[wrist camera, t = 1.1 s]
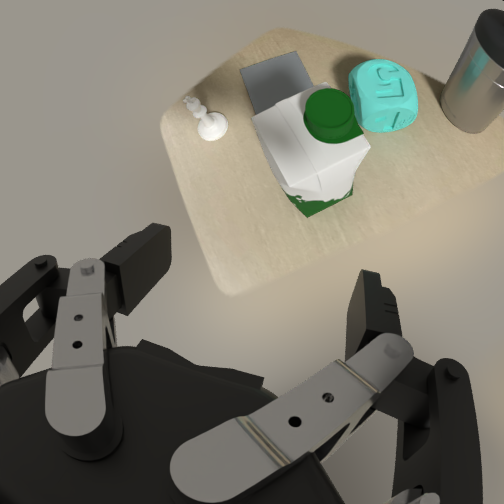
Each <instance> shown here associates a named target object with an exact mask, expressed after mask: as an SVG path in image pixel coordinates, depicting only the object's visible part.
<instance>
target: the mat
mask: <svg viewBox="0 0 504 504" xmlns="http://www.w3.org/2000/svg"><path fill="white" fill-rule="evenodd" d="M240 72H241V75H242V77H243V80H244V83H245V86H246V88H247V91H248V94H249V96H250V99H251V102H252V105H253V107H254V110H255V113H256V115H257V114H259V113H261V112H263V111H265V110H267V109H269V108H271V107H273V106H275V104H276V103H278V102H280V101H282V100H284V99H287V98H289V97H292V96H294V95H296V94H298V93H300V92H303V91H305V90H307V89H309V88H312V87H314V86H313V84H312V82H311V79H310V77H309V75H308V73H307V71H306V69H305V68H304V66H303V64H302V62H301V60H300V58H299V56H298V54H297V52H296V51H295V52H291V53H288V54H285V55H281V56H278V57H275V58H272V59H269V60H266V61H263V62H260V63H257V64H254V65H251V66H249V67H246V68H243V69H240Z"/></svg>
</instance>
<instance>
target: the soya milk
mask: <svg viewBox="0 0 504 504" xmlns="http://www.w3.org/2000/svg"><path fill="white" fill-rule="evenodd" d="M354 113H355V111H354V105H353V102H352V100H351V99H350V98H349V97H348V96H347V95H346V94H345V93H344V92H342V91H340V90H337V89H332V88H331V87H330V86H329V84H328V83H327V82H323V83H321V84H319V85H316V86H314V87H312V88H309V89H307V90H305V91H303V92H300V93H298V94H296V95H294V96H292V97H289V98H287V99H284V100H282V101H280V102H278V103H276V104H275V106H273V107H271V108H269V109H267V110H265V111H263V112H261V113H259V114H257V115H255V116H254V117H252V118H251V119H252V122H253V124H254V127H255V130H256V132H257V135H258V138H259V141H260V143H261V146H262V149H263V151H264V154H265V157H266V159H267V161H268V163H269V165H270V168H271V170H272V172H273V174H274V176H275V177H276V179H277V181H278V182H279V184H280V186H281V187H282V189H283V191H284V192H285V194H286V195H287V197H288V198H289V200H290V201H291V202H292V203H293V204H294V205H295V206H296V207H297V208H298V209H299V210H300V211H301V212H302V213H303V214H304V215H305V216H306V217H307V218H308V217H310V216H311V215H313V214H316V213H318V212H320V211H322V210H324V209H326V208H328V207H330V206H332V205H334V204H336V203H338V202H339V201H341V200H343V199H345V198H347V197H349V196H351V195H352V193H353V180H354V176H355V172H356V169H357V168H358V166H359V164H360V163H361V161H362V160H363V158H364V157H365V155H366V154H367V152H368V151H369V149H370V148H371V146H370V144H369V143H368V141H367V140H366V138H365V137H364V135H363V134H364V133H363V131H362V129H361V128H360V127H359V125H358V123H357V119H356V117H355V115H354Z"/></svg>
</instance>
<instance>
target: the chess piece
mask: <svg viewBox="0 0 504 504" xmlns="http://www.w3.org/2000/svg"><path fill="white" fill-rule="evenodd" d="M183 102H184V103H187V105H186V107H187V109H188V110H190V111H193V116H194V117H195V118H201V120H200V122H199V124H198V132H199V134H200V136H201V137H202V138H203V139H204V140H207V141H214V140H217V139H219V138H221V137H222V136H223V135H224V134H225V132H226V131H227V128H228V121H227V119H226V117H225V116H223V115H222V114H221V113H217V112H212V113H209V114H207V113H206V112H207V109H206V107H205V106H203V105H200V101H199V99H197V98H195V97H192V98H190V97H189V96H186V97H185V99H183Z"/></svg>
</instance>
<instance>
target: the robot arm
mask: <svg viewBox="0 0 504 504" xmlns="http://www.w3.org/2000/svg"><path fill="white" fill-rule="evenodd" d="M503 1H504V0H503ZM440 102H441V107H442V109H443V111H444V113H445V115H446V116H447V118H448V119H449V120H450V121H451V123H453V124H454V125H455V126H456V127H458V128H459V129H461V130H463V131H465V132H468V133H480V132H482V131H483V130H485V129H486V128H487V127H488V125H489V124H490V123H491V122H492V121H493V120H494V119H495V118H496V117H497V116H498V115H499V114H500V113H501V112H502V111H503V110H504V11H502V10H498V9H488V10H485V11H483V12H482V13H481V14H480V16H479V18H478V20H477V23H476V24H475V26H474V29H473V31H472V33H471V35H470V37H469V39H468V42H467V44H466V46H465V48H464V50H463V52H462V54H461V56H460V58H459V60H458V62H457V64H456V66H455V68H454V70H453V72H452V73H451V75H450V77H449V79H448V81H447V83H446V85H445V87H444V89H443V90H442V92H441V96H440ZM171 258H172V256H171V229H170V227H169V226H165V225H161V224H157V223H152V224H150V225H149V226H148V227H146V228H145V229H144V230H142V231H140V232H137V233H135V234H132V235H130V236H128V237H127V238H126V239H125V240H123V242H121V243H119V244H118V245H117V247H114V248H113V249H112V250H110V251H109V252H108V253H107V254H105V255H104V256H103V257H102V258H100V259H94V258H90V259H89V258H88V259H84V260H80V261H78V262H76V263H75V264H74V265H73V266H72V267H71V269H67V268H58V265H57V261H56V258H55V257H54V256H51V255H43V256H38V257H36V258H34V259H32V260H31V261H29V262H28V263H27V264H26V265H24V266H23V267H22V268H21V269H20V270H18V271H17V272H16V273H15V274H13V275H12V276H11V277H10V278H8V279H7V280H6V281H5V282H4V283H2V284H1V285H0V504H345V503H344V501H343V500H342V498H341V496H340V495H339V493H338V491H337V490H336V488H335V486H334V485H333V483H332V481H331V480H330V478H329V476H328V475H327V473H326V471H325V470H324V468H323V466H322V465H321V463H322V462H324V461H325V460H326V459H327V458H329V457H330V456H331V455H332V454H333V453H334V452H335V451H336V450H337V449H338V448H339V447H340V446H341V445H342V444H343V443H344V442H345V441H346V440H347V439H348V438H349V437H350V436H351V435H352V434H353V433H355V432H356V431H357V430H358V429H359V428H360V427H361V426H362V425H363V424H364V423H365V422H366V421H367V420H368V419H369V418H370V417H371V416H372V415H373V414H374V413H375V412H376V411H377V410H378V411H381V412H383V413H385V414H388V415H390V416H392V417H394V418H396V419H398V431H397V447H396V461H395V472H394V482H393V490H392V497H391V499H390V500H388V501H386V502H385V503H383V504H483V486H482V466H481V454H480V442H479V434H478V426H477V419H476V412H475V406H474V400H473V395H472V389H471V384H470V379H469V375H468V372H467V371H466V369H465V368H464V367H463V365H461V364H460V363H459V362H457V361H455V360H453V359H449V358H443V359H440V360H438V361H437V362H436V364H435V365H434V366H432V365H430V364H428V363H426V362H423V361H421V360H419V359H417V358H415V357H414V356H413V355H414V352H413V348H412V347H411V345H410V343H409V342H408V341H407V340H405V339H404V338H403V337H402V331H401V325H400V319H399V315H398V308H397V303H396V298H395V296H394V294H393V293H392V292H391V290H390V289H389V288H386V287H382V285H381V280H380V274H379V273H376V272H372V271H367V270H363V269H362V270H361V271H360V273H359V276H358V279H357V282H356V286H355V289H354V291H353V294H352V297H351V300H350V303H349V307H348V312H347V329H346V351H345V363H343V362H342V361H341V360H339V359H338V360H335V361H333V362H332V363H330V364H329V365H327V366H326V367H325V368H323V369H322V370H320V371H319V372H317V373H316V374H314V375H313V376H311V377H310V378H308V379H307V380H305V381H304V382H302V383H301V384H299V385H298V386H297V387H295V388H293V389H292V390H290V391H289V392H287V393H285V394H284V395H282V396H280V397H279V398H278V397H277V396H276V395H275V394H273V393H272V392H270V391H269V390H267V389H265V388H263V387H262V385H263V380H264V377H260V376H256V375H252V374H249V373H245V372H242V371H238V370H235V369H228V368H218V367H208V366H199V365H195V364H193V363H191V362H190V361H188V360H187V359H185V358H183V357H181V356H180V355H178V354H177V353H175V352H173V351H172V350H170V349H168V348H165V347H163V346H160V345H157V344H154V343H151V342H149V341H146V340H143V339H142V340H141V341H140V343H139V344H138V345H137V347H131V346H122V347H117V338H116V326H115V318H114V315H115V313H116V312H118V313H121V314H124V315H126V316H128V315H129V314H130V313H131V312H132V310H133V309H134V308H135V307H136V306H137V305H138V304H139V302H140V301H141V300H142V299H143V298H144V297H145V296H146V295H147V293H148V292H149V291H150V290H151V289H152V288H153V287H154V286H155V285H156V284H157V282H158V281H159V280H160V279H161V278H162V277H163V276H164V275H165V274H166V273H167V271H168V270H169V268H170V265H171ZM35 297H36V299H37V302H38V305H39V309H38V310H37V311H36V312H35V313H34V314H33V315H32V316H31V317H30V318H29V319H28V320H27V321H26V322H24V319H23V310H24V308H25V307H26V305H27V304H28V303H30V302H31V301H32V300H33V299H34V298H35ZM53 338H54V345H53V357H52V367H51V368H49V369H46V370H43V371H40V372H37V373H34V374H31V375H28V376H25V377H22V378H20V377H21V376H22V375H23V374H24V372H25V371H26V370H27V369H28V368H29V366H30V365H31V364H32V363H33V361H34V360H35V359H36V358H37V357H38V355H39V354H40V353H41V352H42V351H43V349H44V348H45V347H46V346H47V345H48V344H49V343H50V341H51V340H52V339H53Z"/></svg>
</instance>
